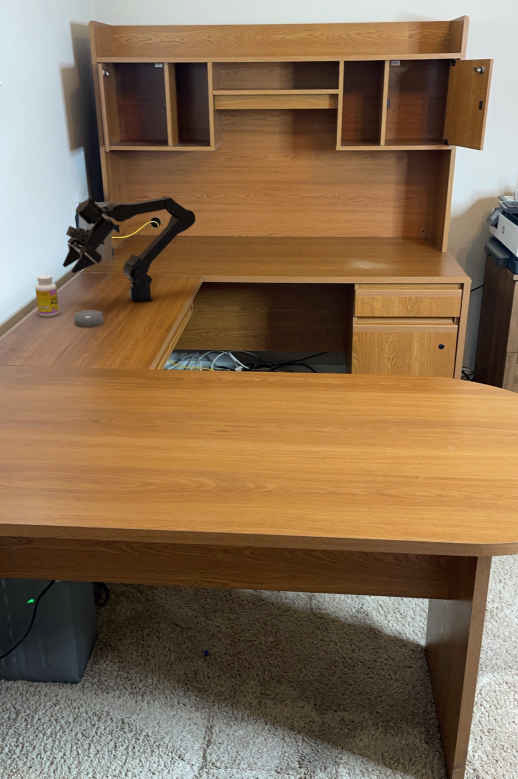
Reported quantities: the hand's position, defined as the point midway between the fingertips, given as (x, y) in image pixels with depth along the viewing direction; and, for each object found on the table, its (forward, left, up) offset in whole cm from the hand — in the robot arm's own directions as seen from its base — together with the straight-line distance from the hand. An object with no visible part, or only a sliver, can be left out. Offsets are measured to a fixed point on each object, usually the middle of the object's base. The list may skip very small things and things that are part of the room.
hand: (68, 269), depth 235 cm
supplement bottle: (+8, +1, -14) cm, 17 cm away
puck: (-2, +16, -14) cm, 22 cm away
